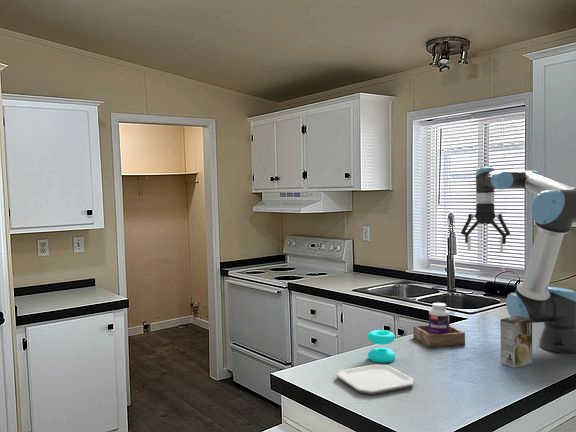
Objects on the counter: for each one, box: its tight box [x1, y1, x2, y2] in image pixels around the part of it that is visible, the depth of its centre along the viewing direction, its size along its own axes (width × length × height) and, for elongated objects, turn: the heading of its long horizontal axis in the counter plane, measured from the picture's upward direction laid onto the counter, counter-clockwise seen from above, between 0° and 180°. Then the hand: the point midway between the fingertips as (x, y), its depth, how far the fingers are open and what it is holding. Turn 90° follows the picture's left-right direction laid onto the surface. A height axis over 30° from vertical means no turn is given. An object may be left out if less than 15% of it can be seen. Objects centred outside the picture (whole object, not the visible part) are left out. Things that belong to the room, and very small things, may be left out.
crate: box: [412, 324, 466, 349], centre depth 214 cm, size 15×15×5 cm
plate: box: [335, 363, 415, 395], centre depth 170 cm, size 21×21×2 cm
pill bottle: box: [428, 302, 450, 335], centre depth 214 cm, size 8×8×14 cm
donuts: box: [367, 329, 396, 364], centre depth 193 cm, size 10×10×10 cm
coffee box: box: [500, 316, 533, 369], centre depth 185 cm, size 9×6×16 cm
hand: (485, 251), depth 230 cm, fingers open, 13 cm apart
